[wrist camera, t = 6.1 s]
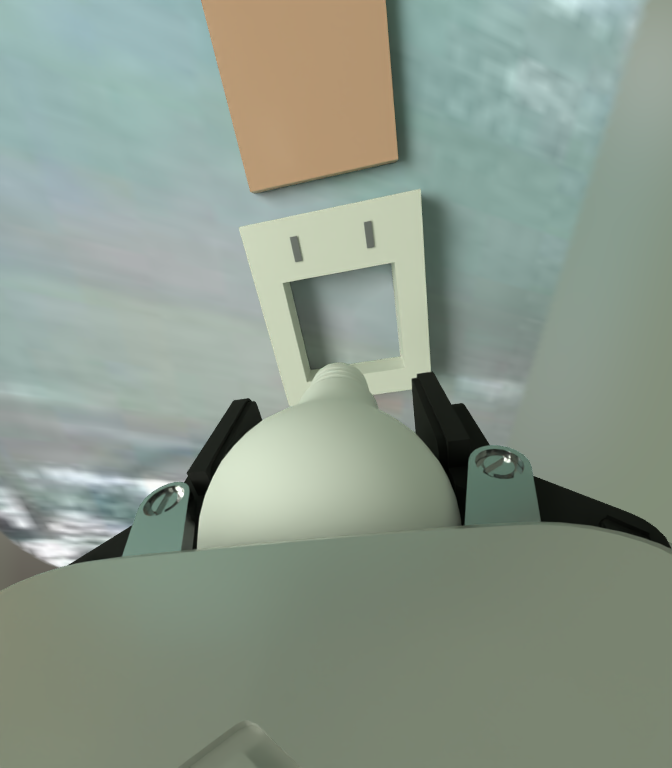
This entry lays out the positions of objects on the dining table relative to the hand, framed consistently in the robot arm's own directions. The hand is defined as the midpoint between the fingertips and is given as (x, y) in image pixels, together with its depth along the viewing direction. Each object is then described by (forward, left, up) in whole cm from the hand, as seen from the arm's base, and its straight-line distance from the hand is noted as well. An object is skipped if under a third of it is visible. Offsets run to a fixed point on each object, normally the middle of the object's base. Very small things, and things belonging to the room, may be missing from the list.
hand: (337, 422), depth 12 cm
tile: (-15, 0, -16) cm, 22 cm away
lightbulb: (0, 0, -4) cm, 4 cm away
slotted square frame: (-1, 0, -16) cm, 16 cm away
